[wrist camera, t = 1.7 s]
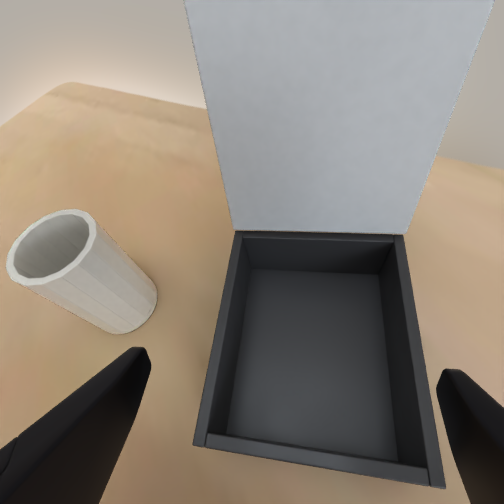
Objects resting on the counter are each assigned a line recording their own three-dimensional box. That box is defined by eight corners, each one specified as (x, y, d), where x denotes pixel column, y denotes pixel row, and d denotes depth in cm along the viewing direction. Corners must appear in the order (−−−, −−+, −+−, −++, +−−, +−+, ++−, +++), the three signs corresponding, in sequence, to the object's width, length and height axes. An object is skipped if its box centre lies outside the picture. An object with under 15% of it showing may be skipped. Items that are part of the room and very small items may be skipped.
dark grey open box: (408, 476, 18) (447, 489, 13) (217, 443, 20) (191, 445, 16) (384, 272, 26) (403, 234, 21) (246, 265, 28) (235, 230, 23)
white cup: (115, 348, 25) (23, 304, 17) (85, 304, 28) (-6, 248, 20) (169, 301, 27) (111, 239, 19) (137, 264, 30) (73, 196, 21)
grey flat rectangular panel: (535, -102, 9) (523, -101, 10) (173, -43, 12) (179, -44, 12) (406, 234, 20) (404, 226, 21) (233, 230, 22) (235, 223, 23)
